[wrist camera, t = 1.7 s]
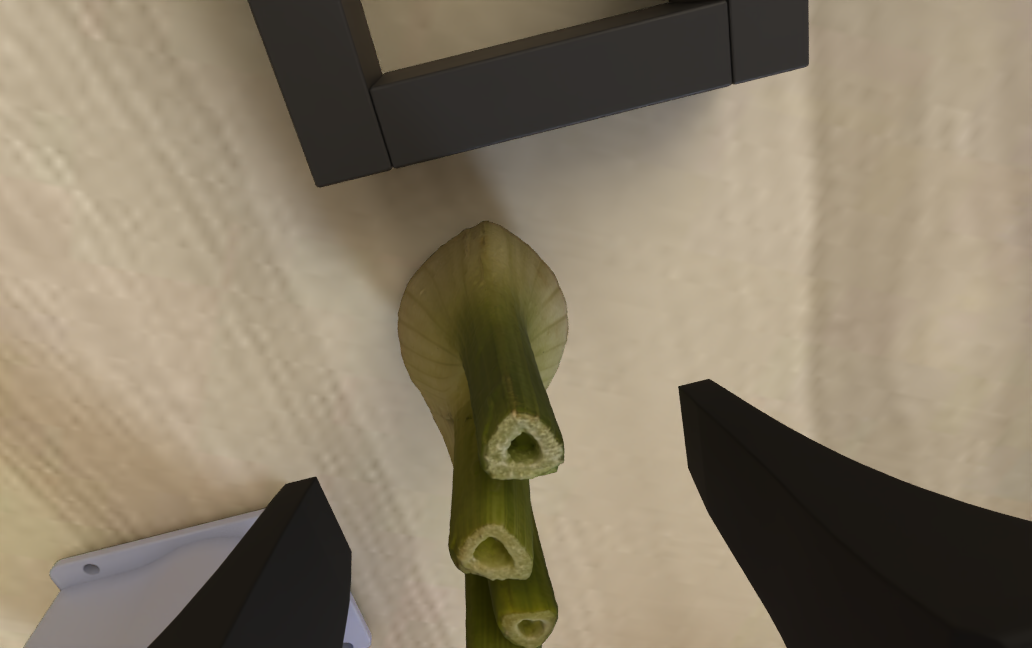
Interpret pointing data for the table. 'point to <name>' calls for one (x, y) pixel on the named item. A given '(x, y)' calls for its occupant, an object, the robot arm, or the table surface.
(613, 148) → the table surface
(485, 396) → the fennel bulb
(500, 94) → the holder
